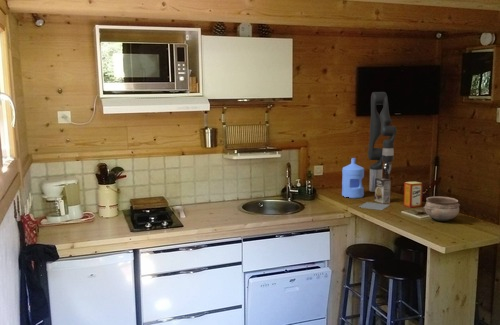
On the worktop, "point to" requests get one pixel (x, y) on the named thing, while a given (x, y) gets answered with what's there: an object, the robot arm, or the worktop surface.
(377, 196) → the coffee box
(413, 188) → the baking soda box
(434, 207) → the cooking pot
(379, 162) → the robot arm
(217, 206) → the worktop surface
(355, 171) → the water jug
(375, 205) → the mat
